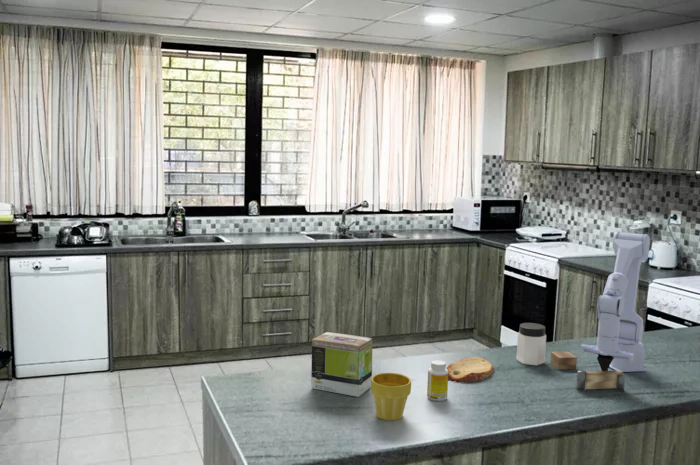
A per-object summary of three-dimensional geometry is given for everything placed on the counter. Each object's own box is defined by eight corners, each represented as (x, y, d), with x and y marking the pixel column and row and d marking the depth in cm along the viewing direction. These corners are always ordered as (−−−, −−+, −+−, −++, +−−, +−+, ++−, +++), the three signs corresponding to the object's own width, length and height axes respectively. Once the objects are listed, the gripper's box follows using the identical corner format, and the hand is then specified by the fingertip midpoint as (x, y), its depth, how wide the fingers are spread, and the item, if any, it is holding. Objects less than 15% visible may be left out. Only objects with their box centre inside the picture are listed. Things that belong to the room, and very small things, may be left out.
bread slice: (485, 362, 215) (486, 351, 214) (507, 382, 197) (508, 370, 197) (432, 364, 212) (432, 353, 211) (450, 384, 194) (450, 372, 194)
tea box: (372, 387, 190) (373, 337, 188) (358, 398, 181) (359, 346, 179) (325, 378, 196) (327, 329, 194) (309, 389, 187) (310, 338, 185)
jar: (534, 367, 210) (536, 331, 209) (512, 361, 216) (514, 325, 214) (548, 361, 216) (550, 326, 215) (526, 355, 222) (528, 321, 221)
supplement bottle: (451, 400, 181) (452, 364, 180) (434, 403, 178) (435, 366, 177) (439, 393, 186) (441, 358, 185) (423, 396, 183) (424, 360, 182)
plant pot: (416, 421, 166) (417, 384, 165) (377, 425, 163) (378, 387, 162) (401, 406, 176) (402, 370, 175) (364, 409, 173) (365, 373, 172)
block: (567, 363, 216) (568, 351, 215) (576, 369, 210) (576, 357, 209) (550, 363, 215) (551, 351, 215) (558, 369, 209) (558, 357, 209)
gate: (586, 389, 191) (587, 373, 190) (583, 387, 192) (585, 371, 192) (621, 388, 193) (622, 372, 192) (618, 386, 194) (619, 370, 194)
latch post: (621, 388, 193) (622, 374, 192) (625, 391, 191) (626, 376, 190) (615, 389, 192) (616, 374, 192) (619, 391, 190) (620, 377, 190)
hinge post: (582, 387, 193) (583, 369, 192) (586, 390, 190) (587, 372, 190) (574, 388, 192) (575, 370, 192) (578, 391, 190) (580, 372, 189)
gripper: (579, 333, 194) (575, 377, 196) (631, 343, 186) (627, 389, 187) (585, 328, 200) (582, 371, 201) (636, 337, 191) (632, 382, 193)
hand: (604, 379), depth 195 cm, fingers closed, pressing on gate
